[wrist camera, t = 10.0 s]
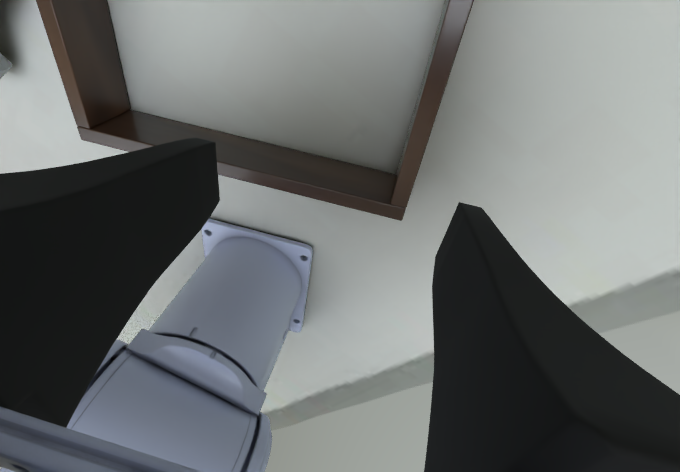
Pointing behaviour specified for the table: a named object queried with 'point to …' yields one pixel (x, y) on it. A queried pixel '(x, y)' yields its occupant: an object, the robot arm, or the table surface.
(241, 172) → the bin
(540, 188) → the table surface
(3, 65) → the smooth white sculpture
